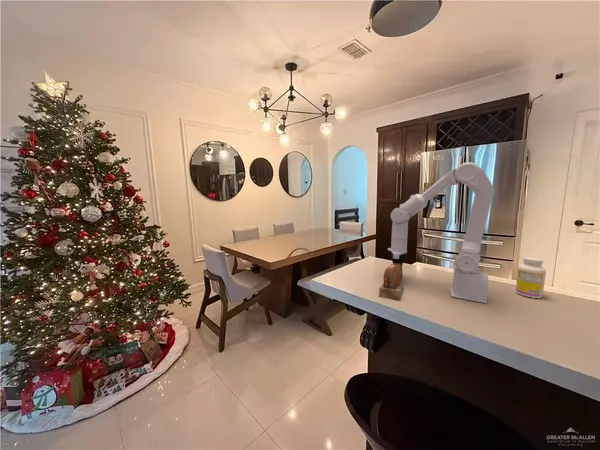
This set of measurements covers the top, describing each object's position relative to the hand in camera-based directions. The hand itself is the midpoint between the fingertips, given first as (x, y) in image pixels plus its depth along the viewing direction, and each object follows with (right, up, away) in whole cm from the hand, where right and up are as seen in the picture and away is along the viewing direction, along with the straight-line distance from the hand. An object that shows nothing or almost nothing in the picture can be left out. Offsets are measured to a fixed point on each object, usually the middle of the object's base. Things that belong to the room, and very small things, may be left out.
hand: (397, 271), depth 94 cm
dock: (-6, -5, -11) cm, 13 cm away
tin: (-5, -5, -7) cm, 9 cm away
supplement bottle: (+39, -5, -14) cm, 42 cm away
